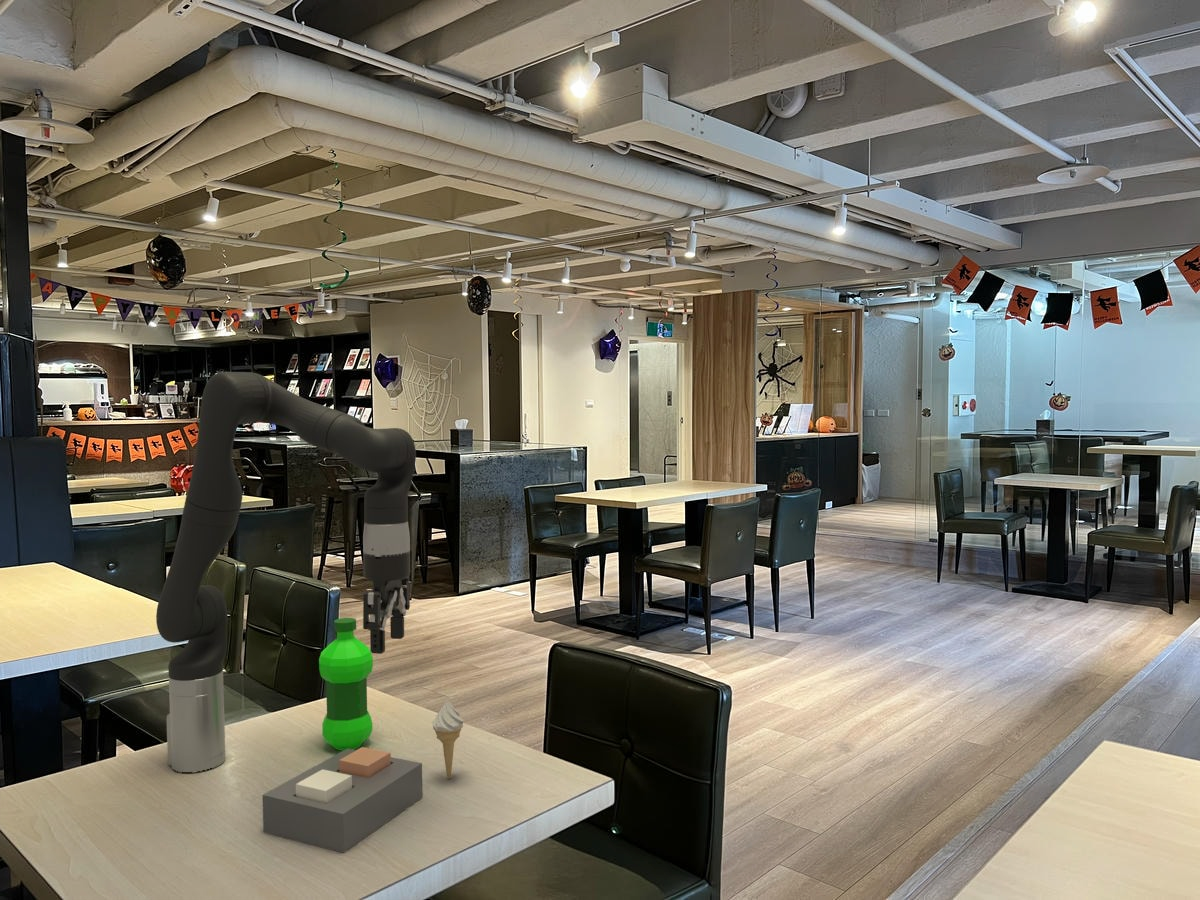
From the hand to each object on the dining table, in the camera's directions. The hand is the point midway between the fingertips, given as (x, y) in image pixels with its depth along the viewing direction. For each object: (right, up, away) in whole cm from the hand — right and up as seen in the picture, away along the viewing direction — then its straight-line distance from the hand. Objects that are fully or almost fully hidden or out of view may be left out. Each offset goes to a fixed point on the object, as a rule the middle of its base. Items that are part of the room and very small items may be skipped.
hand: (387, 645), depth 146 cm
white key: (-9, -23, -7) cm, 25 cm away
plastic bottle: (-14, -26, +27) cm, 40 cm away
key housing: (-6, -27, -2) cm, 28 cm away
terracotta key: (-4, -22, +3) cm, 23 cm away
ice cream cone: (+8, -27, +11) cm, 30 cm away
